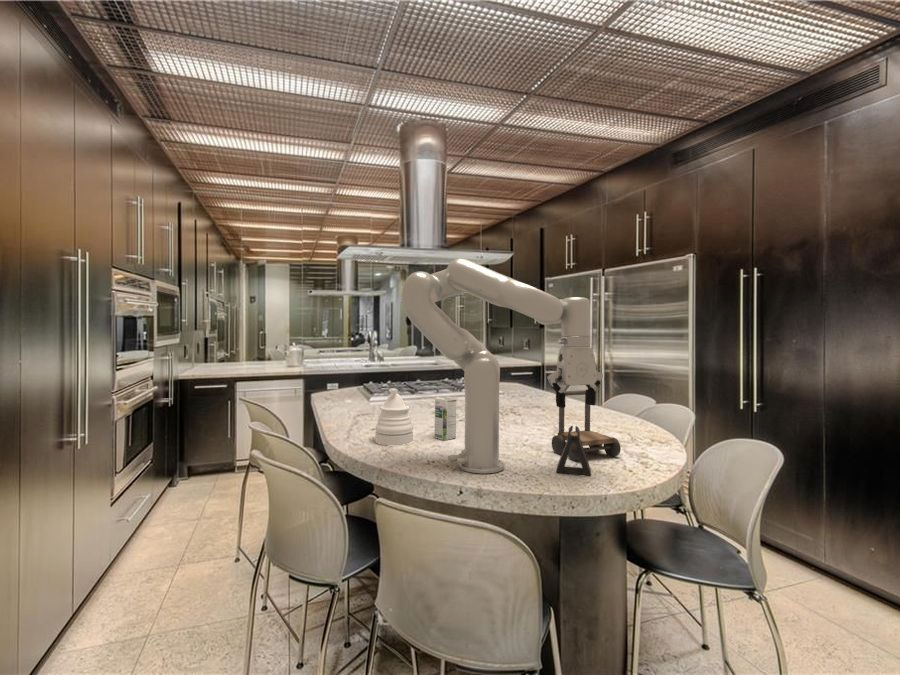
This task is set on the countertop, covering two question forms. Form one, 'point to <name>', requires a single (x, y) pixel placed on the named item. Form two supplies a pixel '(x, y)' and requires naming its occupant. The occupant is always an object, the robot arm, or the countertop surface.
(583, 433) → the trolley
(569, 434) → the dark brown a-frame stand
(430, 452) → the countertop surface
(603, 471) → the countertop surface
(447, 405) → the syrup box
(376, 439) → the honey pot
